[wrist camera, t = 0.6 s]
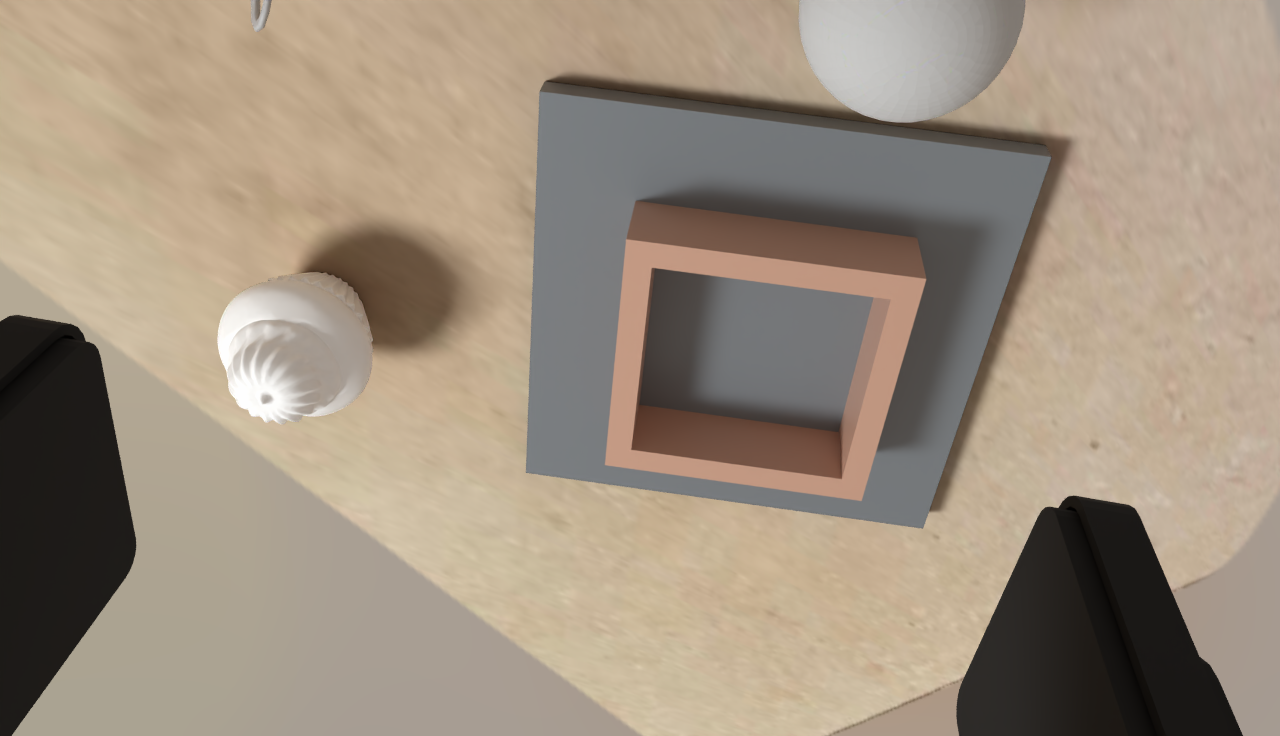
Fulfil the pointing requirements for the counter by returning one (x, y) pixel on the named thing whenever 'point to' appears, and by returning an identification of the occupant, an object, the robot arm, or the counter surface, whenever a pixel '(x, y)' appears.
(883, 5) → the light bulb
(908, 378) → the holder board
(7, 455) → the robot arm
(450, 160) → the counter surface
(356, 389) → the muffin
